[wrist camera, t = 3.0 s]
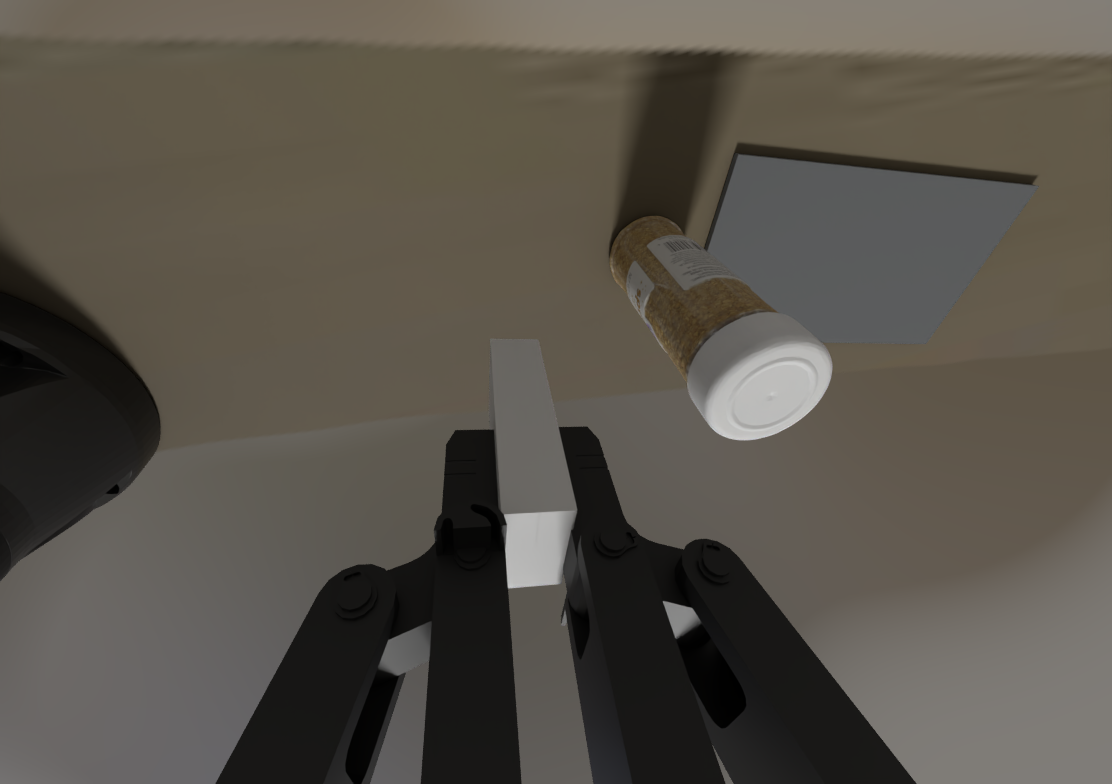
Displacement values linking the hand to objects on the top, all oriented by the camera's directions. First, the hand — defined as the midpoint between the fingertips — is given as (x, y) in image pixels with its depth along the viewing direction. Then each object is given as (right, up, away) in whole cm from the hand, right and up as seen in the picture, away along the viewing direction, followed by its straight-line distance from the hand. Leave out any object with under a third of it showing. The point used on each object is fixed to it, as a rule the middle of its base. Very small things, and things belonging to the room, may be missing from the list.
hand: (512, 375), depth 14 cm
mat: (+20, +8, +14) cm, 25 cm away
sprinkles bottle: (+7, +8, +11) cm, 15 cm away
